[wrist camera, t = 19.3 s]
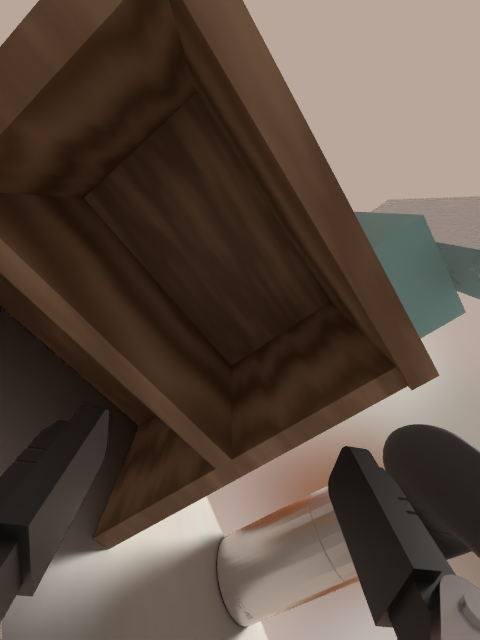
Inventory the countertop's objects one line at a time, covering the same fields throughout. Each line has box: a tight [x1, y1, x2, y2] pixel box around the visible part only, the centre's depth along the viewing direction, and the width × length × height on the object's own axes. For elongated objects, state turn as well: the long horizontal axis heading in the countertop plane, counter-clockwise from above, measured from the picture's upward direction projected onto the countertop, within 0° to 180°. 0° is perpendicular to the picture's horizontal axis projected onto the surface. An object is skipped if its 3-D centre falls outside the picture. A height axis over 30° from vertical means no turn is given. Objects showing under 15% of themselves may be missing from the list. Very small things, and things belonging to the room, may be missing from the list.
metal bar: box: [370, 197, 480, 299], centre depth 17 cm, size 20×4×4 cm, turn 1°
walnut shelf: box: [0, 0, 439, 549], centre depth 25 cm, size 16×28×32 cm, turn 91°
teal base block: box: [354, 212, 465, 338], centre depth 23 cm, size 15×7×3 cm, turn 1°
